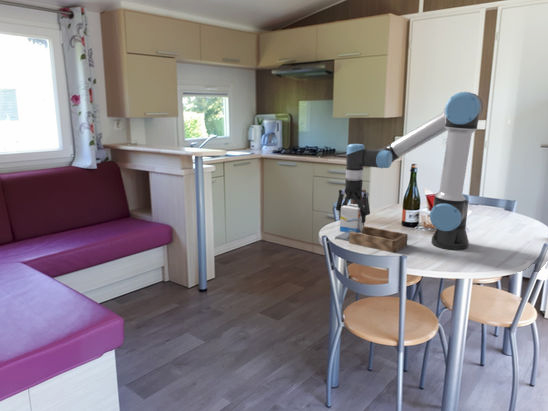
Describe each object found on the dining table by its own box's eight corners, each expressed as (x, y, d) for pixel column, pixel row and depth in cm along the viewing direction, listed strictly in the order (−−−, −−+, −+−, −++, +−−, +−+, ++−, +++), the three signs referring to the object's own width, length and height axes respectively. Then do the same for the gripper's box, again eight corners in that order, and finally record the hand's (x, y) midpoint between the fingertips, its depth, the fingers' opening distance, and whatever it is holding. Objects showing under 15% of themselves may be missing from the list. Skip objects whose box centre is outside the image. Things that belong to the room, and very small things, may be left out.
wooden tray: (406, 244, 194) (407, 234, 193) (394, 252, 184) (395, 241, 183) (363, 236, 207) (363, 225, 205) (349, 243, 196) (349, 232, 195)
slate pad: (361, 236, 206) (361, 234, 206) (350, 241, 198) (350, 239, 198) (346, 233, 211) (346, 231, 211) (335, 238, 203) (335, 236, 203)
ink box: (356, 234, 197) (358, 208, 194) (339, 231, 201) (340, 206, 199) (363, 229, 204) (365, 205, 201) (346, 227, 208) (347, 202, 206)
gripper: (380, 180, 194) (377, 230, 199) (337, 175, 207) (335, 222, 212) (372, 182, 188) (369, 233, 193) (328, 177, 201) (327, 225, 206)
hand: (351, 227), depth 202 cm, fingers closed on ink box, 9 cm apart
